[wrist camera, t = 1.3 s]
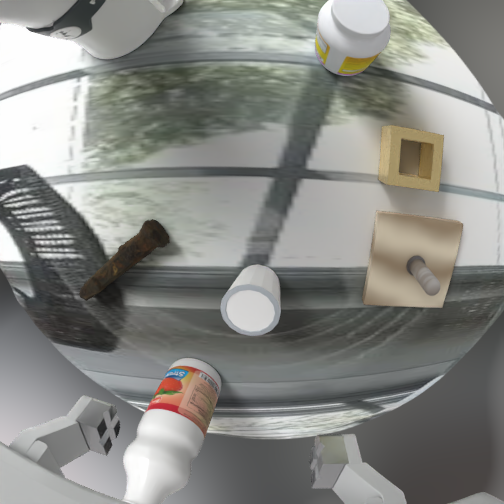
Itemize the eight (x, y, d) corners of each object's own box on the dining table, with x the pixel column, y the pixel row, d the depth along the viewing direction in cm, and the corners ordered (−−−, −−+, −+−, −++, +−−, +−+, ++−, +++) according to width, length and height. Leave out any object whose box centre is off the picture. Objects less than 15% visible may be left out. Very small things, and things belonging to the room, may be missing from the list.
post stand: (376, 210, 35) (396, 231, 27) (458, 221, 33) (490, 242, 25) (361, 298, 39) (373, 336, 31) (438, 302, 37) (460, 336, 30)
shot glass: (243, 251, 39) (231, 275, 33) (292, 272, 39) (290, 299, 33) (226, 294, 42) (212, 322, 35) (272, 313, 42) (266, 344, 35)
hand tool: (157, 214, 40) (141, 223, 35) (174, 238, 40) (159, 251, 36) (82, 274, 46) (66, 286, 41) (96, 294, 46) (80, 307, 42)
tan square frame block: (381, 126, 31) (391, 125, 27) (430, 135, 30) (443, 135, 27) (378, 179, 33) (387, 184, 30) (425, 186, 32) (438, 192, 29)
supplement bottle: (380, 49, 28) (415, 12, 16) (351, 87, 30) (377, 62, 18) (333, 18, 27) (345, -33, 15) (303, 55, 30) (303, 14, 18)
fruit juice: (209, 402, 51) (160, 535, 25) (163, 377, 50) (95, 504, 24) (232, 374, 47) (182, 530, 21) (181, 346, 47) (101, 493, 21)
